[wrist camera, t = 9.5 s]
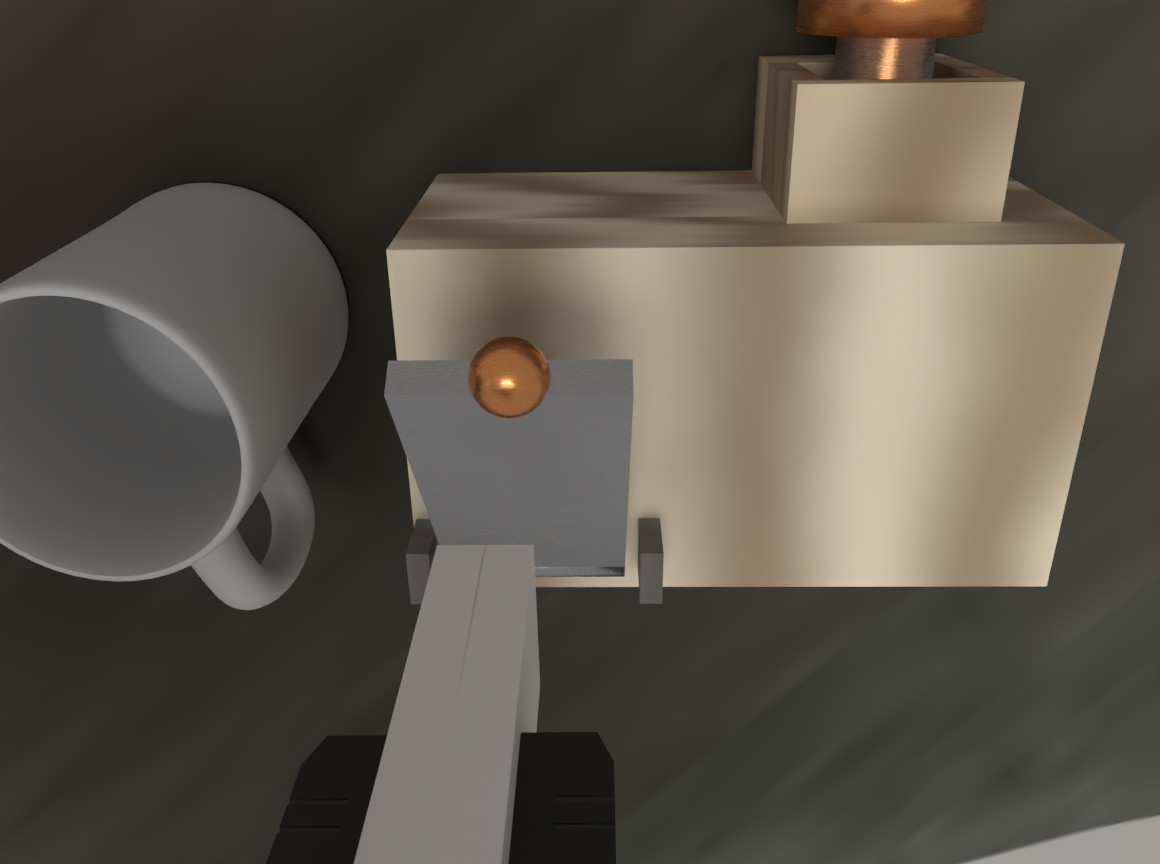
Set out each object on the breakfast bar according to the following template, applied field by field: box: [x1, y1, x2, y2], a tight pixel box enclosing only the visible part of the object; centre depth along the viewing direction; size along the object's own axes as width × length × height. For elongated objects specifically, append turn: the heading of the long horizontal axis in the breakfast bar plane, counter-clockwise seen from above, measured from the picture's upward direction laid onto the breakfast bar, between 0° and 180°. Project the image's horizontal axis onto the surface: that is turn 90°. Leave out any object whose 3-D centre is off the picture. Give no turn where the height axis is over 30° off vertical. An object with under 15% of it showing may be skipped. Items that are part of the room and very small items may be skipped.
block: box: [386, 54, 1125, 604], centre depth 29 cm, size 18×14×11 cm
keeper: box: [384, 336, 634, 577], centre depth 24 cm, size 5×11×2 cm
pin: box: [796, 0, 987, 80], centre depth 30 cm, size 5×17×5 cm, turn 1°
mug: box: [0, 182, 349, 610], centre depth 31 cm, size 12×8×11 cm
